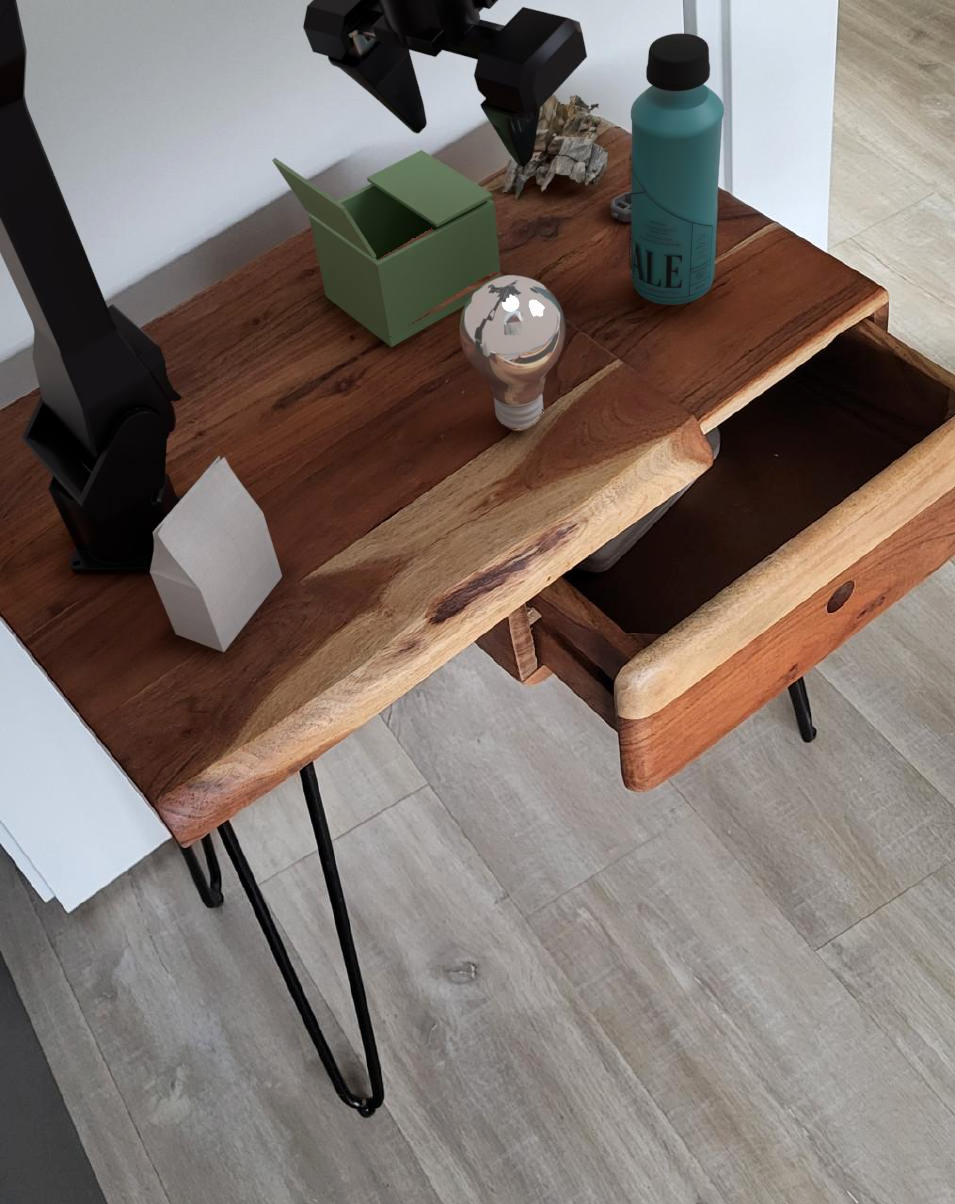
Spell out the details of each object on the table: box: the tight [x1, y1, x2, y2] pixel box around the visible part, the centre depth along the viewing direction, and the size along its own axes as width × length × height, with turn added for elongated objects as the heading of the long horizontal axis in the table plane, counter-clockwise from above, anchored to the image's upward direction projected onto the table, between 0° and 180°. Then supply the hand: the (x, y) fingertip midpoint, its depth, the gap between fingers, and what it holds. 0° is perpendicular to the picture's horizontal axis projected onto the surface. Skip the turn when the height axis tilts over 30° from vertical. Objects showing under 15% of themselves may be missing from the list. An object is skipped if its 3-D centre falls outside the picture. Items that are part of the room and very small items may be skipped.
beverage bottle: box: [628, 32, 725, 306], centre depth 93 cm, size 6×7×20 cm
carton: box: [308, 149, 502, 348], centre depth 101 cm, size 11×9×8 cm
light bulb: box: [458, 273, 567, 432], centre depth 88 cm, size 7×7×12 cm
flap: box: [272, 157, 376, 259], centre depth 93 cm, size 5×9×1 cm
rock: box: [502, 93, 609, 201], centre depth 112 cm, size 8×15×4 cm, turn 165°
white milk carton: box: [149, 455, 283, 653], centre depth 80 cm, size 4×7×10 cm, turn 153°
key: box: [610, 191, 631, 223], centre depth 109 cm, size 12×1×3 cm
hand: (472, 145), depth 88 cm, fingers open, 9 cm apart
